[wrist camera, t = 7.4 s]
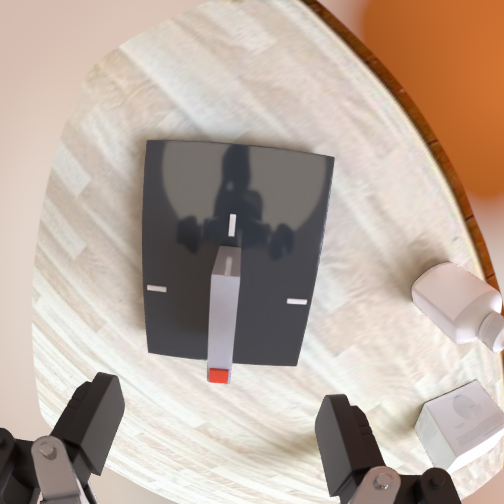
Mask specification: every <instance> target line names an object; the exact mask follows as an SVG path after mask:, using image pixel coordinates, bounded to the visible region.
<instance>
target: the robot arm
mask: <svg viewBox="0 0 504 504" xmlns="http://www.w3.org/2000/svg"><path fill="white" fill-rule="evenodd" d="M124 408H125V403H124V398H123V394H122V390H121V387H120V383H119V379H118V377H117V376H115V375H111V374H107V373H103V372H98V373H97V374H96V376H95V378H94V379H93V381H92V383H91V382H88V381H86V382H85V383H83V384H82V385H81V386H79V387H78V388H77V389H76V391H75V392H74V394H73V396H72V399H70V401H69V402H68V404H67V407H66V408H65V409H64V411H63V413H62V415H61V416H60V418H59V420H58V422H57V423H56V425H55V427H54V429H53V431H52V432H51V434H50V435H49V436H43V437H40V438H38V439H37V440H35V441H26V440H20V439H15V438H14V437H13V436H12V434H11V433H10V432H9V431H8V430H6V429H4V428H0V504H37V500H38V498H39V495H40V492H42V496H43V500H42V501H40V504H99V502H98V500H97V498H96V495H95V493H94V491H93V489H92V487H91V484H90V482H89V477H90V475H91V473H93V474H96V475H99V476H100V475H101V472H102V470H103V467H104V464H105V461H106V458H107V456H108V453H109V450H110V448H111V445H112V442H113V440H114V437H115V434H116V432H117V429H118V427H119V424H120V422H121V419H122V417H123V414H124ZM315 433H316V437H317V441H318V446H319V450H320V455H321V459H322V463H323V468H324V472H325V477H326V481H327V486H328V491H329V495H330V497H333V496H339V497H340V501H341V502H340V503H339V504H461V501H460V499H459V496H458V494H457V491H456V489H455V486H454V484H453V481H452V479H451V477H450V475H449V473H448V472H447V471H446V470H444V469H442V468H438V467H434V468H430V469H428V470H426V471H425V472H424V473H423V474H422V475H400V474H398V473H397V472H396V471H395V470H394V469H392V468H390V467H387V466H386V465H385V463H384V460H383V458H382V455H381V452H380V450H379V447H378V445H377V442H376V440H375V437H374V435H373V434H372V430H371V427H370V426H369V422H368V420H367V418H366V415H365V414H364V413H363V412H362V410H361V409H360V408H359V407H358V406H350V404H349V401H348V398H347V396H346V395H345V394H336V395H326V396H325V397H324V399H323V402H322V405H321V407H320V410H319V412H318V415H317V417H316V421H315Z"/></svg>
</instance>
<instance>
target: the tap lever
mask: <svg viewBox="0 0 504 504" xmlns="http://www.w3.org/2000/svg"><path fill="white" fill-rule="evenodd" d="M240 272H241V248H239V247H229V246H219V250H218V253H217V257H216V260H215V264H214V267H213V271H212V274H211V289H210V308H209V330H208V358H207V381H208V382H213V383H223V384H228V383H230V381H231V370H232V359H233V348H234V337H235V327H236V317H237V306H238V296H239V286H240Z"/></svg>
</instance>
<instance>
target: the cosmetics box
mask: <svg viewBox="0 0 504 504" xmlns="http://www.w3.org/2000/svg"><path fill="white" fill-rule="evenodd" d="M414 430H415V432H416V433H417V435H418V437H419V439H420V441H421V443H422V445H423V447H424V449H425V450H426V452H427V454H428V456H429V458H430V460H431V462H432V464H433V466H434V467H438V468H442V469H444V470H446V471H447V472H448V473H449V474H450V473H452V472H453V471H455V470H457V469H459V468H461V467H462V466H464V465H466V464H468V463H469V462H471V461H473V460H474V459H476V458H477V457H479V456H481V455H482V454H484V453H485V452H487V451H488V450H490V449H491V448H493V447H494V446H495V444H496V443H497V442H498V441H499V439H500V438H501V437H502V435H503V434H504V413H503V411H502V410H501V409H500V408H499V406H498V405H497V404H496V403H495V402H494V400H493V399H492V398H491V396H490V395H489V394H488V393H487V392H486V390H485V389H484V388H483V387H482V385H481V384H480V383H479V382H478V380H475V381H473V382H471V383H469V384H467V385H465V386H463V387H461V388H458V389H456V390H454V391H452V392H450V393H448V394H445V395H443V396H441V397H439V398H436V399H434V400H431V401H429V402H426V403H425V404H424V406H423V409H422V411H421V413H420V416H419V418H418V420H417V422H416V425H415V427H414Z"/></svg>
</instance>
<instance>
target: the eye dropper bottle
mask: <svg viewBox="0 0 504 504" xmlns="http://www.w3.org/2000/svg"><path fill="white" fill-rule="evenodd" d="M411 291H412V297H413V302H414V304H415V305H416V306H417V307H418V308H419V309H420V310H421V311H422V312H423V313H424V314H425V315H426V316H427V317H428V318H429V319H430V320H431V321H432V322H433V323H434V324H435V325H436V326H437V327H438V328H439V329H440V330H441V331H442V332H443V333H444V334H445V335H446V336H448V337H449V338H450V339H451V340H452V341H453V342H455V343H458V344H463V343H469V342H472V341H475V340H478V339H480V340H481V341H482V342H483V343H484V344H485V345H486V346H487V347H488V348H489V349H490V350H491V351H493V352H494V353H498V352H500V351H501V350H503V349H504V317H503V316H502V315H500V313H501V308H502V298H501V295H500V293H499V292H498V291H497V290H496V289H494V288H493V287H492V286H490V285H489V284H487V283H485V282H484V281H482V280H481V279H479V278H478V277H476V276H474V275H473V274H471V273H470V272H468V271H466V270H465V269H463V268H461V267H460V266H458V265H456V264H454V263H452V262H447V263H442V264H439V265H436V266H434V267H432V268H430V269H429V270H427V271H426V272H425V273H424V274H422V275H421V276H420V277H419V278H418V279H417V280H416V281H415V283H414V284H413V286H412V290H411Z"/></svg>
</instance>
